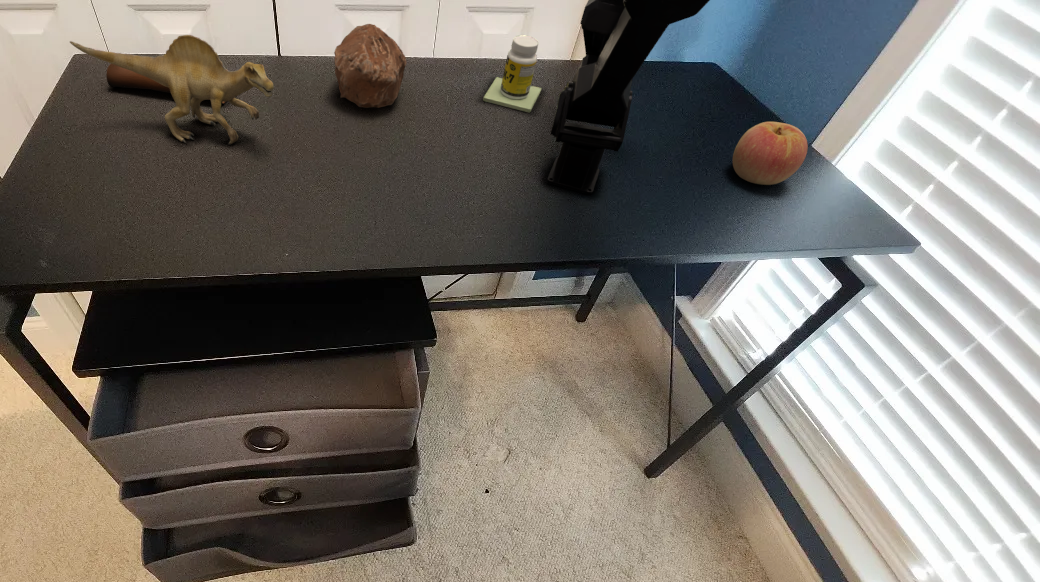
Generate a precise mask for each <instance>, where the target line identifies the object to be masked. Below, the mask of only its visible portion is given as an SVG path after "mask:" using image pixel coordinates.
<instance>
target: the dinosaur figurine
mask: <svg viewBox="0 0 1040 582" xmlns="http://www.w3.org/2000/svg"><path fill="white" fill-rule="evenodd" d="M69 44H70V45H72V46H73V47H74V48H75V49H77V50H79V51H80V52H81V53H83V54H86V55H88V56H91V57H93V58H96V59H97V60H100V61H103V62H106V63H108V64H114V65H116V66H119V67H121V68H124V69H127V70H130V71H133V72H135V73H138V74H140V75H143V76H145V77H148V78H150V79H152V80H154V81H156V82H158V83H160V84H161V85H163V86H166V87H169V89H170V92H171V93H170V94H171V97H172V99H173V100H174V102H175V106H174V107H172V109H170V110H169V111H168V112H167V113H166V114H165V115H164V120H165V122H166V124H167V126H168V127H169V130H170V132H171V133H172V136H174V138H176V139H177V140H178V141H180V142H182V143H184V144H187V141H186V140H185V139H187V140H191V141H193V140H195V138H194V136H195V134H194V133H193V132H191V131H189V130H184V129H182V128H180V127H179V126H178V123H177V121H176V120H178V119H180V118H182V117H185V116H188V115H189V114H190V112H191V116H192V117H193V118H196V117H197V119H198V120H199V121H200V122H201V123H203V124H207V125H216V123H219V124H220V126H222V128H224V130H226V132H227V134H228V136H229V137H228V138H229V139H230V140H229V142H228V143H227V144H228V145H232V144H234V143H236V142H238V139H239V135H238V133H237V130H235V129H234V128H233V127H231V126H230V125H229V123H228V122H227V120H226V119H225V117H224V116H223V115H222V114H221V108H222V103H221V101H223V102H225V103H226V102H229V104H231V105H232V106H234V107H236V108H241V109H245V110H246V111H247V112H248V114H249V116H250V118H251V120H255V121H257V120H258V119H259V118H260V111H259V110H258V109H257V108H256V107H255V106H253V105H250V104H248V103H247V102H245V101H244V100H241V99H238V98H236V97H238V96H240V95H242V94H243V93H245V92H248V91H250V90H251V89H253V88H256V89H258V91H260V92H262V93H263V94H264V96H265V97H266V98H271V97H272V96H273V93H272V91H274V87H275V86H274V83H273V81H272V80H271V79H270V78H269V77H268V76H267V74H266V70H265V66H264V65H263V64H262V63H254V62H252V61H247V62H245V63H244V65H242V66H241V67H240V68H239V69H236V70H228V69H227V68H226V67H225V66H224V64H223V61H222V60H220V56H219V55H218V53H217V52H216V51H215V48H214V47H213V46H212V45H211V44H209V43H208V42H207V41H206V40H204V39H202V38H200V37H197V36H195V35H193V34H183V35H177V38H175V39H173V41H172V42H171V43H170V44H169V46H168V49H167V50H165V53H164V54H163V55H157V56H150V55H149V56H148V55H144V56H142V55H138V54H137V55H136V54H135V55H134V54H130V53H122V52H113V51H108V50H107V51H106V50H101V49H95V48H92V47H88V46H84V45H83V44H80V43H78V42H75V41H73V40H70V41H69ZM205 100H207V101H208V100H210V105H211V109H212V113H207V112H204V111H203V109H202V108H201V103H202V102H203V101H205Z"/></svg>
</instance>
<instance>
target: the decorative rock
mask: <svg viewBox="0 0 1040 582" xmlns="http://www.w3.org/2000/svg"><path fill="white" fill-rule="evenodd" d="M333 54H334V67H335V68H334V74H335V75H334V76H335V78H336V80H337V83H338V89H339V92H340V99H343V98H345V99H346V100H348V101H349V102H352V103H353V104H355V105H356V106H357V107H358V108H365V109H369V108H383V107H387V106H391V105H393V104H394V102H395V101H396V100H397V98H398V96H399V93H400V89H401V86H402V82H403V79H404V74H405V73H404V72H405V68H406V66H407V58H406V55H405V54H404V52H403V50H402V49H401V48H400V46H399V44H398V43H397V42H396V40H394V39H393V38H392V37H390V36H389V35H388V34H387V32H385V31H383V30H382V28H380V27H378V26H377V25H376V24H372V23H365V24H363V25H356V27H354V28H353V29H351V31H350V32H349V33H348V34H347V35H346V36H345V37H344V38H343V39H342V41H341V42H340V44H338V45H337V46H336V47H335V49H334V52H333Z"/></svg>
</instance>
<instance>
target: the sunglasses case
mask: <svg viewBox="0 0 1040 582" xmlns="http://www.w3.org/2000/svg"><path fill="white" fill-rule="evenodd" d="M105 75H106V76H105V77H106V83H107V85H108V86H109V87H110V88H114V87H115V88H125V89H126V88H127V89H128V88H129V89H139V90H152V91H156V92H162V93H167V94H168V93H169V94H171V92H170V89H169V87H166V86H163V85H161V84H160V83H158V82H156V81H154V80H152V79H150V78H148V77H145V76H143V75H140V74H138V73H135V72H133V71H130V70H127V69H124V68H121V67H119V66H116V65H114V64H111V63H109V65H108V66H107V68H106V74H105ZM221 104H224V105H225V104H226V102H223V101H221Z"/></svg>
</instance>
